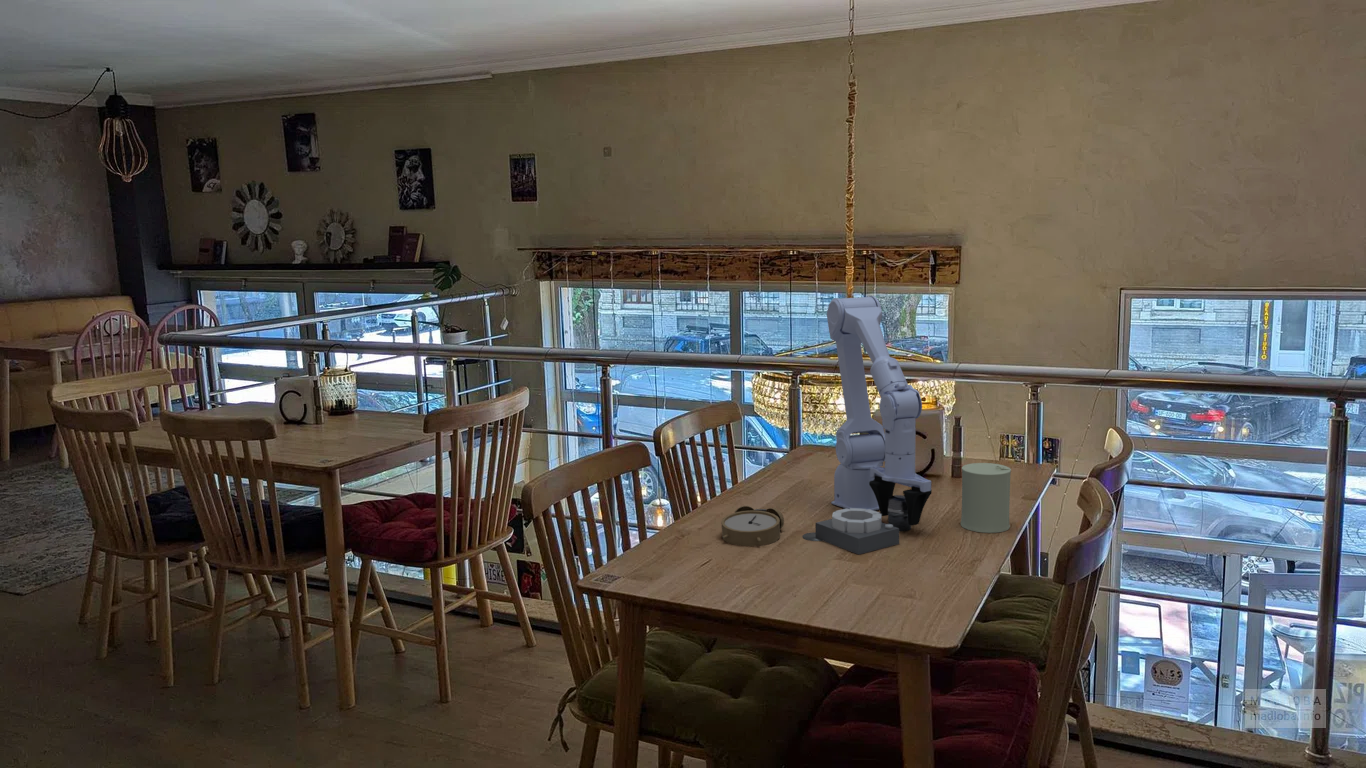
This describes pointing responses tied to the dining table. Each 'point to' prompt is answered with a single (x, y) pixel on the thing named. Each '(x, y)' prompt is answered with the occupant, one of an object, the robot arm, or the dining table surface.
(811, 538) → the lens cap
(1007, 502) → the can
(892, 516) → the lens
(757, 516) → the alarm clock
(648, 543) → the dining table surface
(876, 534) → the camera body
